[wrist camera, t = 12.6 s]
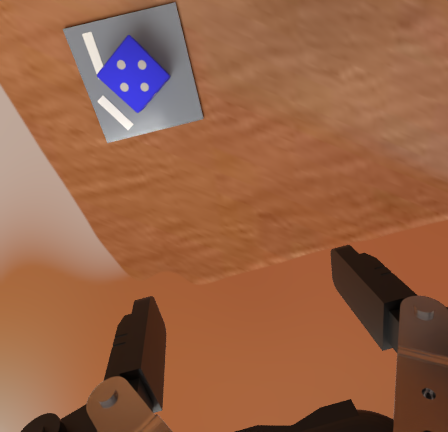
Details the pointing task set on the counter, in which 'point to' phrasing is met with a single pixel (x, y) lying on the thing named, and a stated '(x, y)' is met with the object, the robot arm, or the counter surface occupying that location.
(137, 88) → the die
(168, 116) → the tile
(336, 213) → the counter surface
